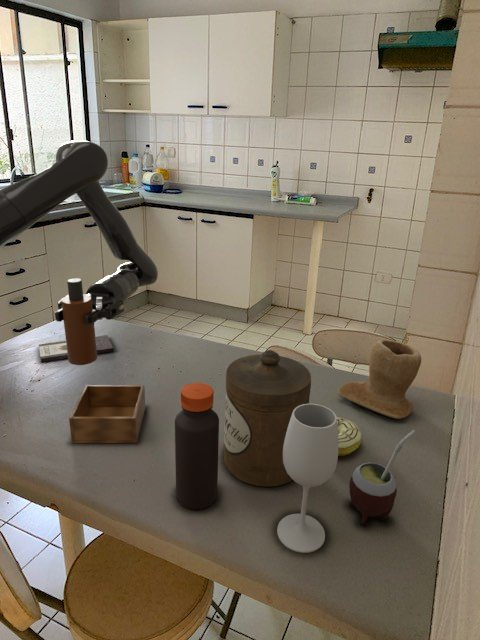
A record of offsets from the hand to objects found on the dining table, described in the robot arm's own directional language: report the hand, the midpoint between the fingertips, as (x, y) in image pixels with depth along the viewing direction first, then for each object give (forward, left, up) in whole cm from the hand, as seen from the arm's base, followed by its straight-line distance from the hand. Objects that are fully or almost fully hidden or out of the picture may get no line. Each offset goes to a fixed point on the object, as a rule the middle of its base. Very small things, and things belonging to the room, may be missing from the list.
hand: (72, 319), depth 95 cm
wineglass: (+43, -38, -19) cm, 60 cm away
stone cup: (+67, -2, -19) cm, 69 cm away
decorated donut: (+53, -16, -19) cm, 58 cm away
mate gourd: (+55, -34, -19) cm, 67 cm away
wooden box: (+9, -10, -19) cm, 23 cm away
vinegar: (+27, -30, -19) cm, 44 cm away
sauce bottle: (+1, +2, -10) cm, 11 cm away
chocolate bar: (-7, +24, -19) cm, 32 cm away
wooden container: (+39, -21, -19) cm, 48 cm away
